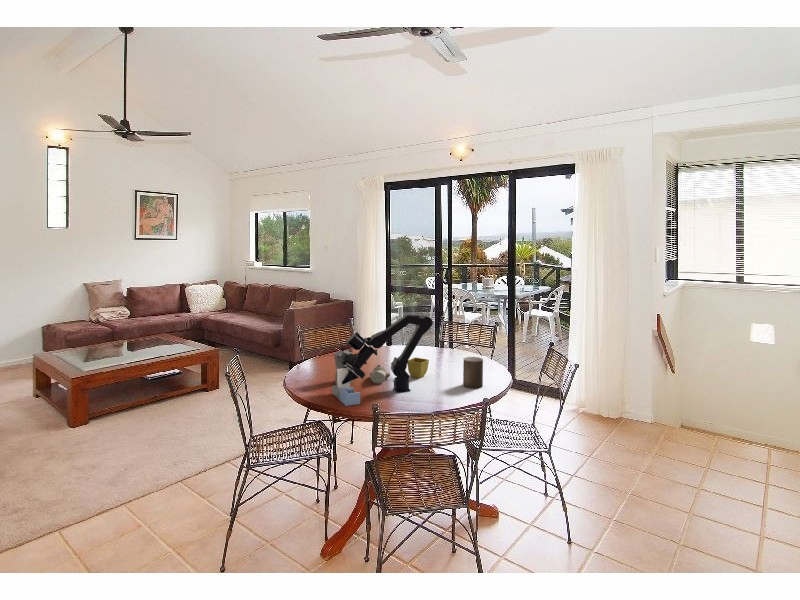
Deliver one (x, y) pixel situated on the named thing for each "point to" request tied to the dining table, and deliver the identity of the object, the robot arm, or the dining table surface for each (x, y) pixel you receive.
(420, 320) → the robot arm
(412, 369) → the flower pot
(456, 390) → the dining table surface
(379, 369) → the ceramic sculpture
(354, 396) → the light blue notched block
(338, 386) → the plug post
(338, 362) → the coffeepot
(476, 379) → the pillar candle
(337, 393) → the blue open box
